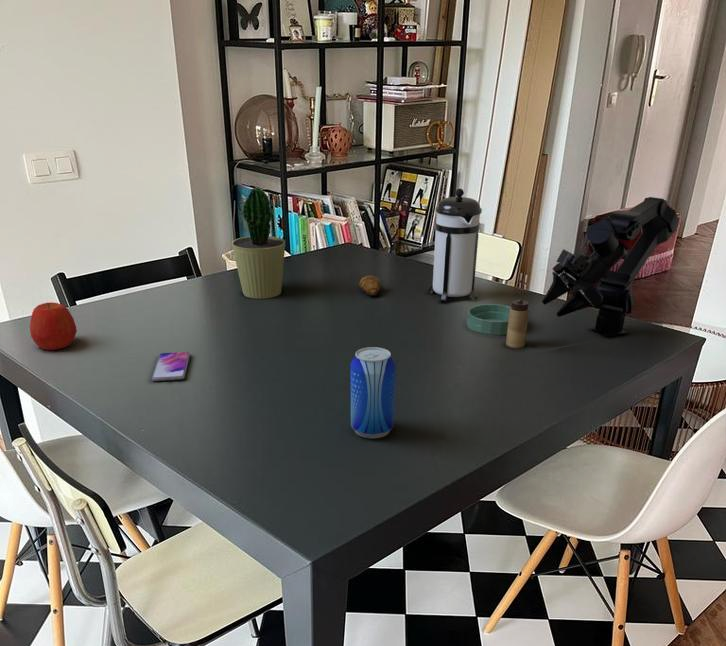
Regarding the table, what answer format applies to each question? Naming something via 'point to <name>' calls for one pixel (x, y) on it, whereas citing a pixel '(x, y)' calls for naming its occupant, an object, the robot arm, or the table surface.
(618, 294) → the robot arm
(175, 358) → the smartphone
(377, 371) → the beer can
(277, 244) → the potted cactus
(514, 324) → the pepper mill
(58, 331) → the apple
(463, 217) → the coffee press
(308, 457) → the table surface
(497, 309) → the bowl
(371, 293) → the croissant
